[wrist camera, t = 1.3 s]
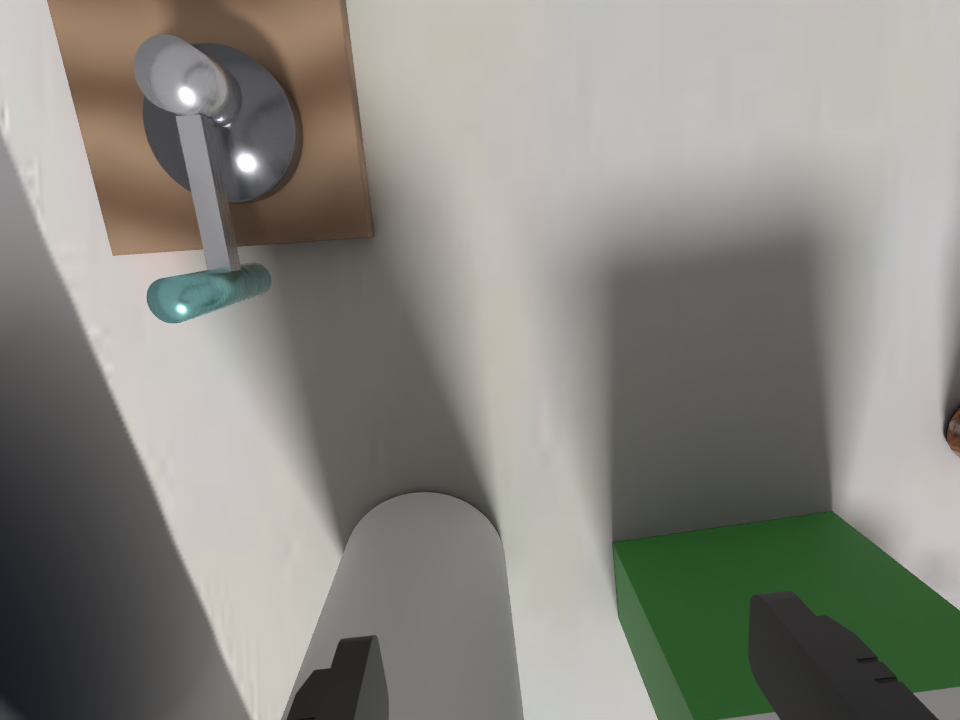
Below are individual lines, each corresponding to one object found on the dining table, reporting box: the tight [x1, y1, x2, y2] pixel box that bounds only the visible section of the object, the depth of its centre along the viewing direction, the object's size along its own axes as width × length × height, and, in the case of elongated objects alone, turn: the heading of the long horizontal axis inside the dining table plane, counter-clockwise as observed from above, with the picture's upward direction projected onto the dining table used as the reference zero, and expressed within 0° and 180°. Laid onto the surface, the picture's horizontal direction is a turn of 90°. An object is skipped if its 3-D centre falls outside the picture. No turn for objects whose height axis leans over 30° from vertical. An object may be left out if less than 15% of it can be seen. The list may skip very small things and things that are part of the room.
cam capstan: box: [134, 34, 303, 323], centre depth 25 cm, size 14×8×10 cm, turn 4°
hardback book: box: [612, 511, 960, 720], centre depth 29 cm, size 18×7×24 cm, turn 98°
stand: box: [47, 0, 374, 256], centre depth 27 cm, size 18×16×8 cm
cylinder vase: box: [281, 492, 524, 720], centre depth 28 cm, size 12×12×25 cm
